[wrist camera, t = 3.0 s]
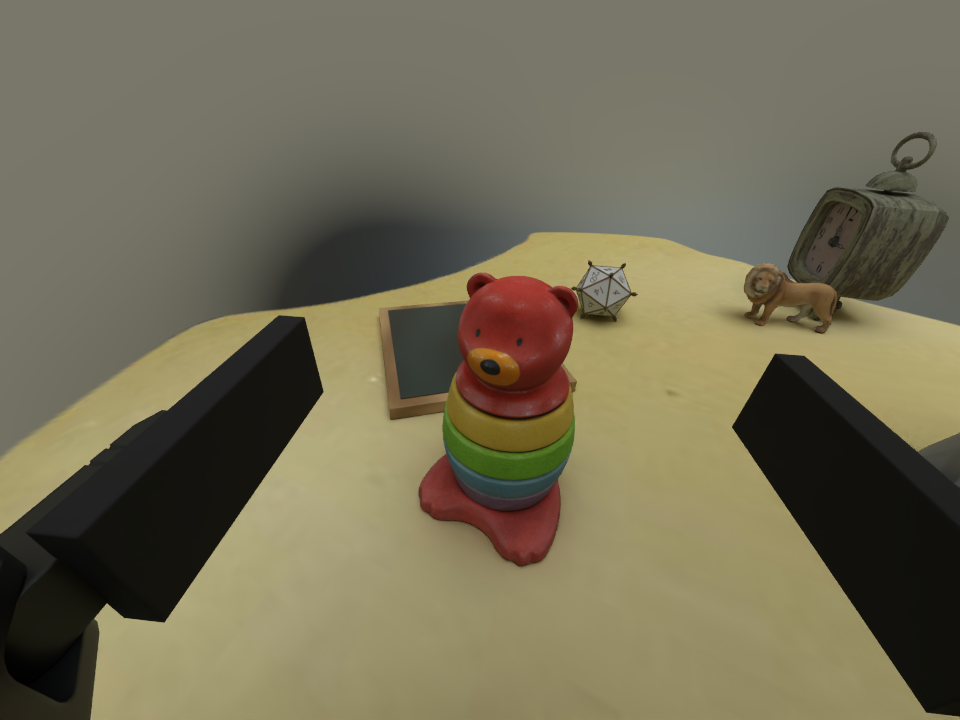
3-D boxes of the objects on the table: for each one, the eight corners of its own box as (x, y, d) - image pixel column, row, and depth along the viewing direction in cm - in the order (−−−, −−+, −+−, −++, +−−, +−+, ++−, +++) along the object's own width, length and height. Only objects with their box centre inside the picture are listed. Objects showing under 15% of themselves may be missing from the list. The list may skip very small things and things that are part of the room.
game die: (598, 342, 57) (619, 314, 47) (555, 309, 59) (566, 276, 49) (633, 303, 59) (659, 269, 49) (589, 273, 61) (607, 234, 51)
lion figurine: (736, 328, 55) (765, 269, 49) (720, 311, 59) (745, 256, 54) (840, 335, 54) (879, 276, 49) (815, 318, 58) (850, 262, 53)
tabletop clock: (772, 287, 68) (855, 128, 54) (828, 294, 67) (929, 132, 52) (808, 323, 57) (925, 133, 43) (877, 332, 55) (1023, 137, 41)
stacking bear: (407, 504, 28) (380, 290, 18) (473, 425, 36) (479, 241, 26) (537, 579, 24) (594, 354, 14) (581, 472, 32) (639, 274, 22)
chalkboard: (509, 305, 58) (510, 296, 57) (574, 391, 41) (577, 380, 40) (379, 316, 54) (378, 307, 53) (390, 419, 36) (389, 408, 35)
